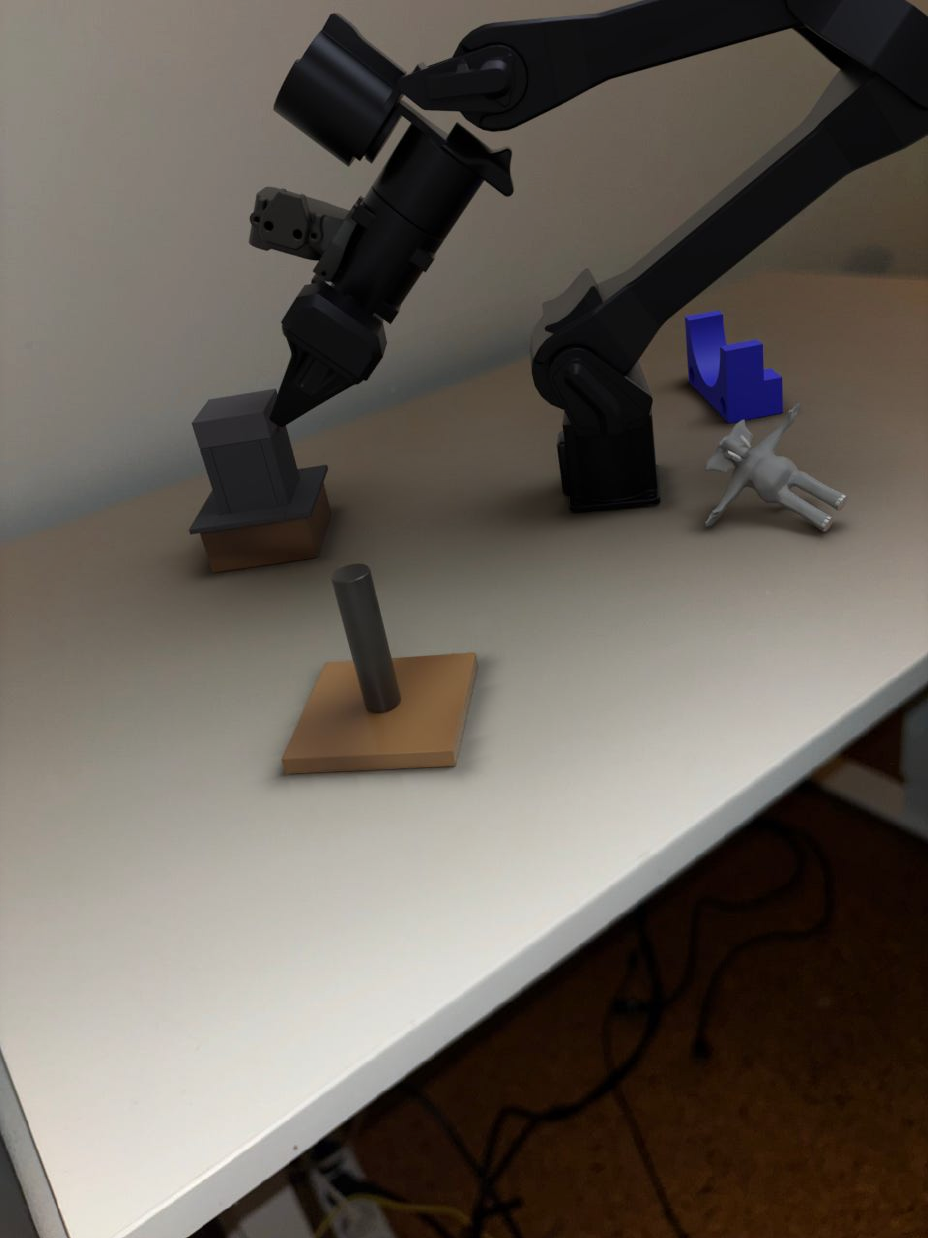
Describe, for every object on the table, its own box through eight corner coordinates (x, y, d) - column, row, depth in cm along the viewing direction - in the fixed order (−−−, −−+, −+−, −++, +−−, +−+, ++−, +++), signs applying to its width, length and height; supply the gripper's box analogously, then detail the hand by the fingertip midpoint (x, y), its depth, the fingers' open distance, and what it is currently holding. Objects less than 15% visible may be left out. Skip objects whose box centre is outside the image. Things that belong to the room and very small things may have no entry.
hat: (328, 468, 81) (305, 376, 77) (311, 516, 73) (285, 415, 69) (218, 486, 82) (189, 395, 78) (190, 534, 74) (157, 436, 70)
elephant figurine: (779, 567, 63) (666, 493, 67) (795, 591, 68) (688, 521, 72) (883, 434, 62) (761, 368, 66) (890, 469, 67) (777, 405, 72)
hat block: (331, 512, 82) (321, 472, 80) (317, 557, 75) (306, 514, 73) (235, 527, 83) (222, 487, 81) (212, 573, 76) (198, 530, 74)
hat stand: (478, 666, 59) (451, 524, 54) (455, 766, 51) (422, 610, 47) (328, 676, 60) (290, 539, 56) (285, 774, 53) (237, 625, 48)
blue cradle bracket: (782, 412, 84) (781, 340, 81) (728, 422, 84) (725, 351, 81) (736, 372, 95) (734, 306, 92) (688, 381, 95) (684, 316, 92)
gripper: (322, 120, 73) (216, 303, 79) (276, 148, 57) (148, 374, 63) (451, 218, 76) (338, 386, 82) (442, 270, 60) (303, 474, 66)
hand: (286, 401), depth 73 cm, fingers open, 9 cm apart
